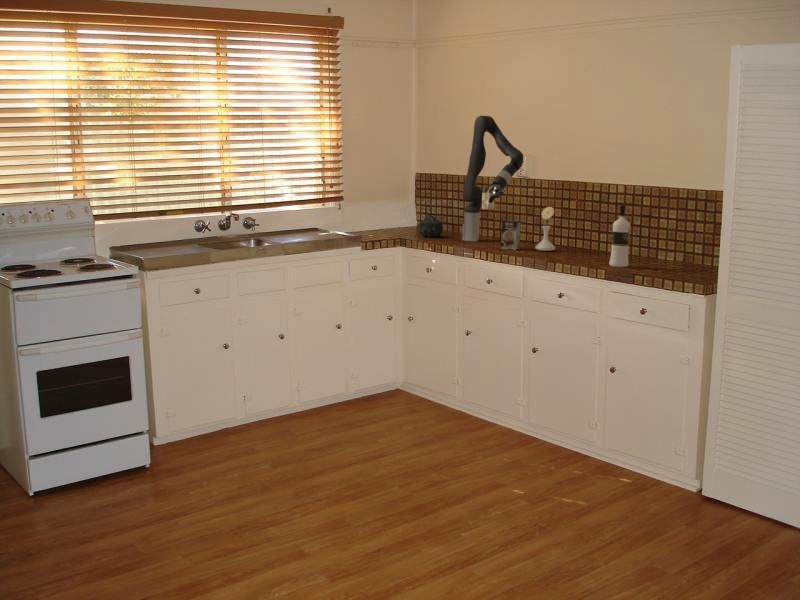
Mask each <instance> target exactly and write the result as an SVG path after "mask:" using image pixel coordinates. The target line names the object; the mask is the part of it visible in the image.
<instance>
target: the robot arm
mask: <svg viewBox="0 0 800 600" xmlns="http://www.w3.org/2000/svg"><path fill="white" fill-rule="evenodd" d="M486 133H489V135H491V136H492V138H493V139H494V141H495V145H496V146H497V148H498V149H499V150H500V152H501V153H502V154H503V155H504V156H507V157H509V158H510V162H509V163H508V164H506V165H505V166H504V167H503V168H502V169H501V170H500V171H499V173H498V174H497V175H496V177H495V178H494V179H493V181H492V182H491V183H492V184H491V186H490V187H488V186H486V187H485V188H484V190H482V188H481V186H478V185H476V181H477V178H478V177H479V175H480V173H481V172H482V171H483V169H484V167H485V165H486V157H487V151H486V147H485V143H484V141H485V140H484V139H485V134H486ZM523 165H524V153H522V151H521V150H519V149H518V148H517V147H515V146H514V145H513V144H512V143H511V142H510V141H509V139H507V137H506V136H505V135H504V134H503V132H502V131H501V129H500V128H499V126H498V124H497V122H496V121H495V119H494V118H493V117H492V116H490V115H478V116H477V117H476V119H475V120H474V126H473V137H472V145H471V150H470V155H469V161H468V167H467V172H466V177H465V182H464V184H463V188H462V199H463V200H464V201H465V202H469V204H468V205H467V206H465V207H464V214H463V217H464V218H463V224H462V232H461V233H462V236H461V238H462V239H461V240H462V241H465V242H479V236H480V233H479V232H480V216H481V215H480V212H481V209H482V193H493V195H492V196H491V198H490V199H489V202H490V203H492V202H493V200H494V199H495V200H496V199H498V198H500V197H501V196H502V195H503V194H504V193H505V192H506V190H505V188H506V187H507V185H508V184H509V183H510V181H511V180H512V178H513V177H514V175H515V174H516V173H517V172H518V171H520V169H521V168H522V166H523Z"/></svg>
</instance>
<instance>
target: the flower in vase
mask: <svg viewBox="0 0 800 600" xmlns="http://www.w3.org/2000/svg"><path fill="white" fill-rule="evenodd" d="M554 214H555V209H554V207H552V206H547V207H545V208H544V209H543V210H542V212H541V218H542V221H543V223H545V224H547V225H542V226H541V227H542V230H543V238H542V239H541V241H540V242H539V243H537V244H536V245H535V246H534V249H535V250H536V251H540V252H541V251H543V252H551V251H555V250H556V247H555V245H554V244H553V243H552V242H551V241H550V240H549V237H548V236H549V232H550V228H551V227H552V226H551V225H555V222H554V220H550V219H551V218H552V217H553V216H554ZM548 219H549V221H548V222H546V221H545V220H548ZM549 225H550V226H549Z"/></svg>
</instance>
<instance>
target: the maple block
mask: <svg viewBox="0 0 800 600" xmlns="http://www.w3.org/2000/svg"><path fill="white" fill-rule="evenodd" d="M492 195H493V193H483V192H482V203H481V209H482V210H495V205H496V204H495V203H496V201H495V200H496V199H494V200H493V202H492V203H490V202H489V199H490V198H491V196H492Z"/></svg>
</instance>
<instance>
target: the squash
mask: <svg viewBox="0 0 800 600" xmlns="http://www.w3.org/2000/svg"><path fill="white" fill-rule="evenodd" d="M418 231H419V234H420V235H422V236H423V237H424V238H429V237H431V238H433V237H435V238H439V237H440V236H441V235H442V233H443V225H442V222H441V221H440V219H438V218H437V217H435V216H434V215H432V214H427V215H426V216H425V217H424V218H423V219H422V220H421V221H420V223H419V225H418Z"/></svg>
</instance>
